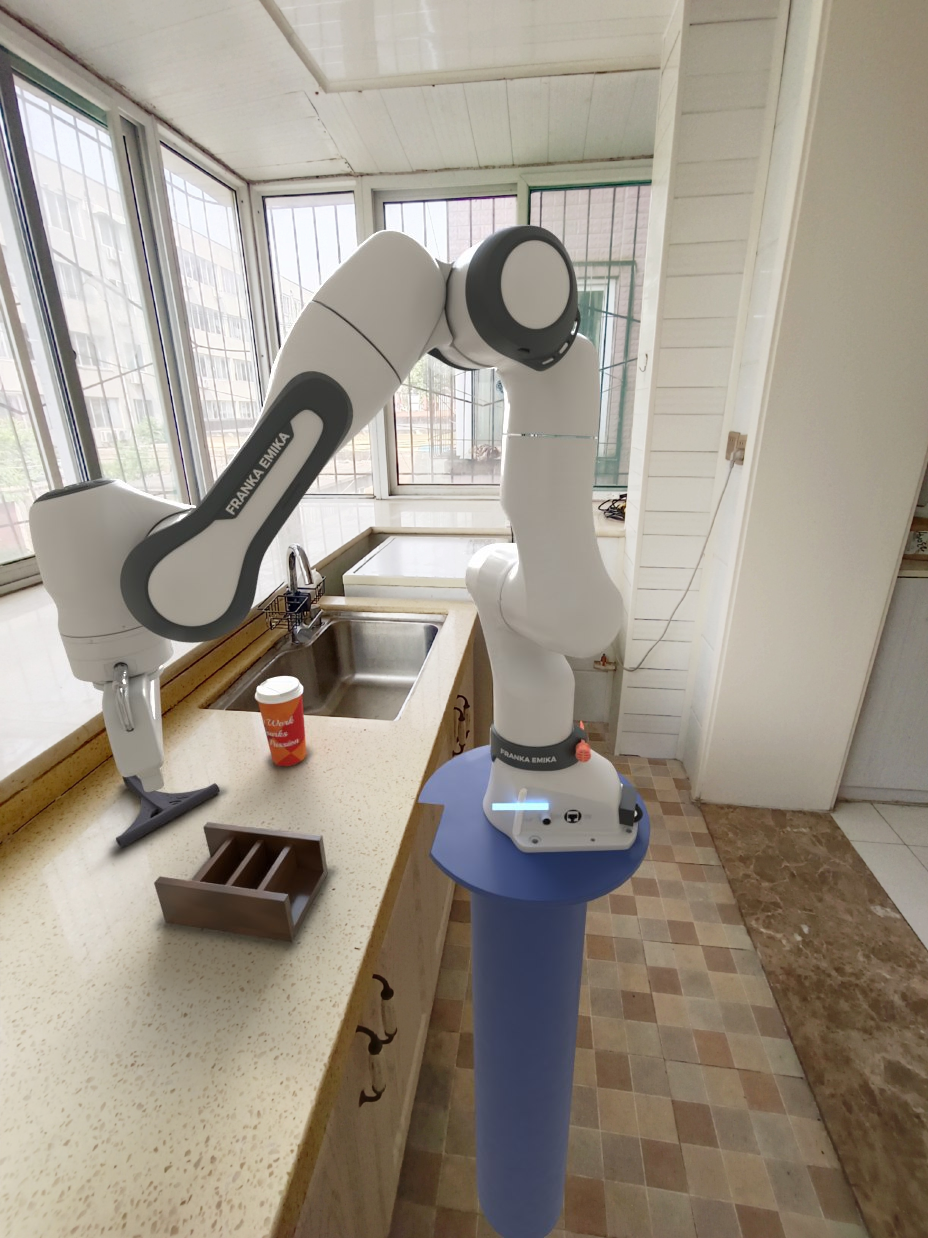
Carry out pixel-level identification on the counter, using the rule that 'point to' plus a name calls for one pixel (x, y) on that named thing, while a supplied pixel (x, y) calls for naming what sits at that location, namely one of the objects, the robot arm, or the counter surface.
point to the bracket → (159, 807)
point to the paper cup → (283, 718)
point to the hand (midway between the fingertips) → (154, 762)
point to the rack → (248, 882)
